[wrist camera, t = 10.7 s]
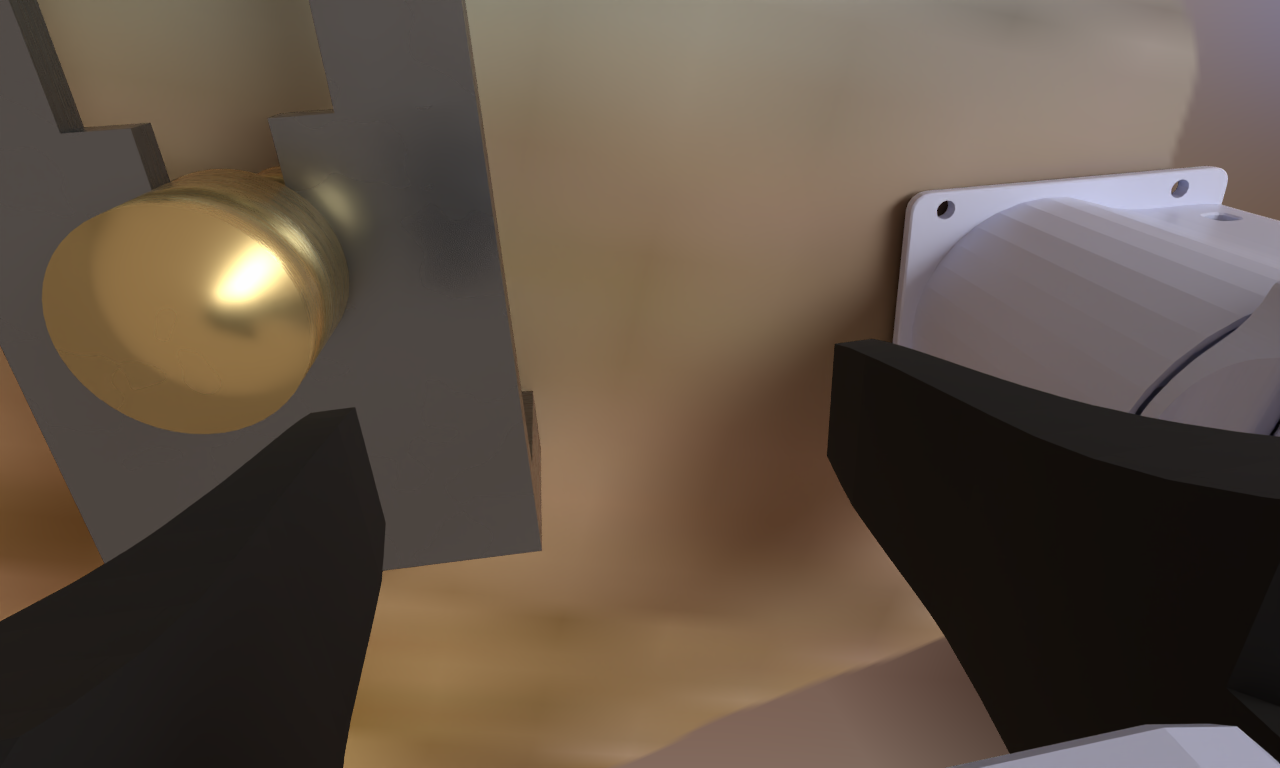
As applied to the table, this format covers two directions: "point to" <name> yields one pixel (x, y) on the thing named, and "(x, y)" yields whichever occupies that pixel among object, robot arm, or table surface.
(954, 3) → the table surface
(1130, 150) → the table surface
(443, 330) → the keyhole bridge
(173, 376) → the peg
